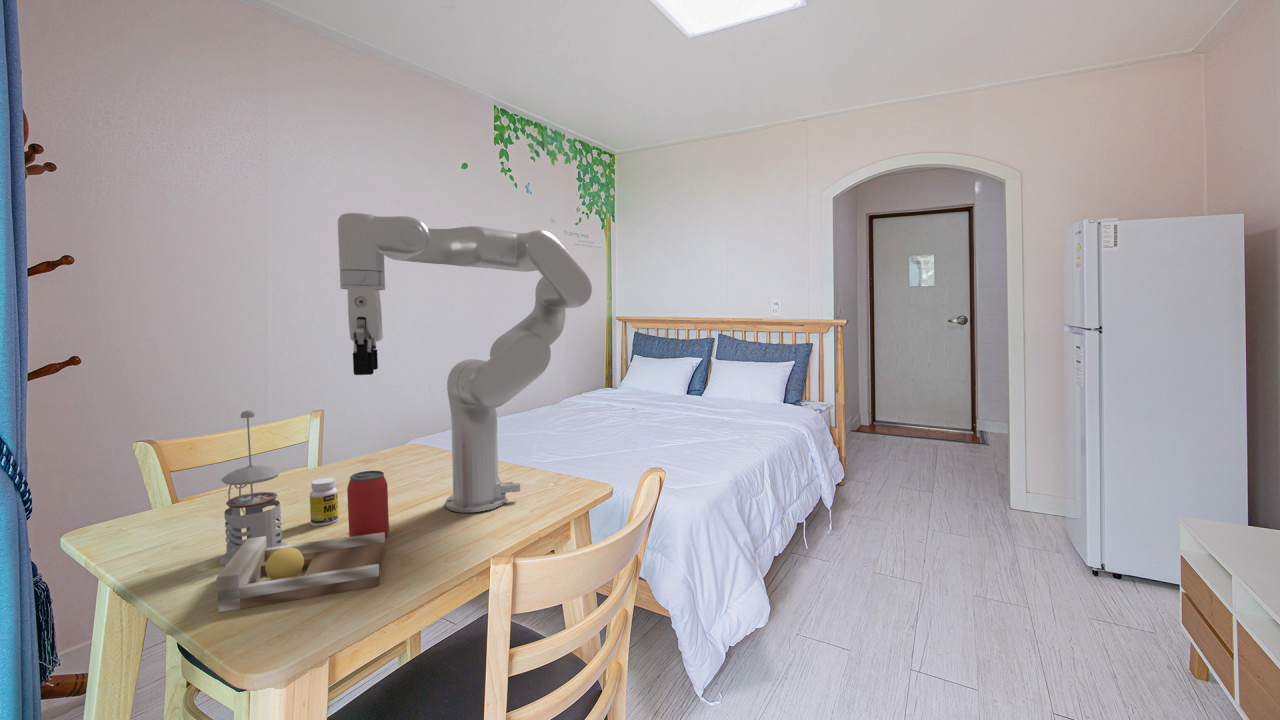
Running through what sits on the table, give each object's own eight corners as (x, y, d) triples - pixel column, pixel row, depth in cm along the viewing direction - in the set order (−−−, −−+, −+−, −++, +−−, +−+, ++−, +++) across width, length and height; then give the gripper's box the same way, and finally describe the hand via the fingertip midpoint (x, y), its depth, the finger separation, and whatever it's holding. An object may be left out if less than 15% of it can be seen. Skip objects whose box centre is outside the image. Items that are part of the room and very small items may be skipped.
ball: (306, 540, 86) (269, 545, 84) (299, 550, 81) (260, 557, 80) (307, 570, 86) (271, 577, 84) (301, 583, 82) (262, 590, 80)
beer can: (358, 531, 102) (356, 469, 101) (394, 530, 102) (392, 469, 101) (342, 546, 95) (339, 480, 94) (380, 545, 96) (378, 479, 95)
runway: (385, 548, 94) (384, 521, 94) (379, 585, 81) (377, 553, 81) (249, 568, 87) (247, 538, 86) (218, 612, 74) (216, 577, 73)
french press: (235, 571, 86) (226, 418, 84) (204, 555, 92) (194, 411, 90) (300, 548, 94) (293, 408, 92) (267, 535, 100) (260, 403, 98)
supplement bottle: (325, 527, 104) (323, 485, 103) (305, 525, 104) (302, 483, 104) (344, 518, 108) (342, 477, 108) (324, 516, 109) (322, 476, 108)
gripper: (381, 279, 94) (385, 376, 95) (387, 284, 110) (390, 367, 111) (332, 278, 91) (337, 377, 92) (346, 283, 107) (350, 368, 108)
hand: (366, 372), depth 102 cm, fingers open, 9 cm apart
